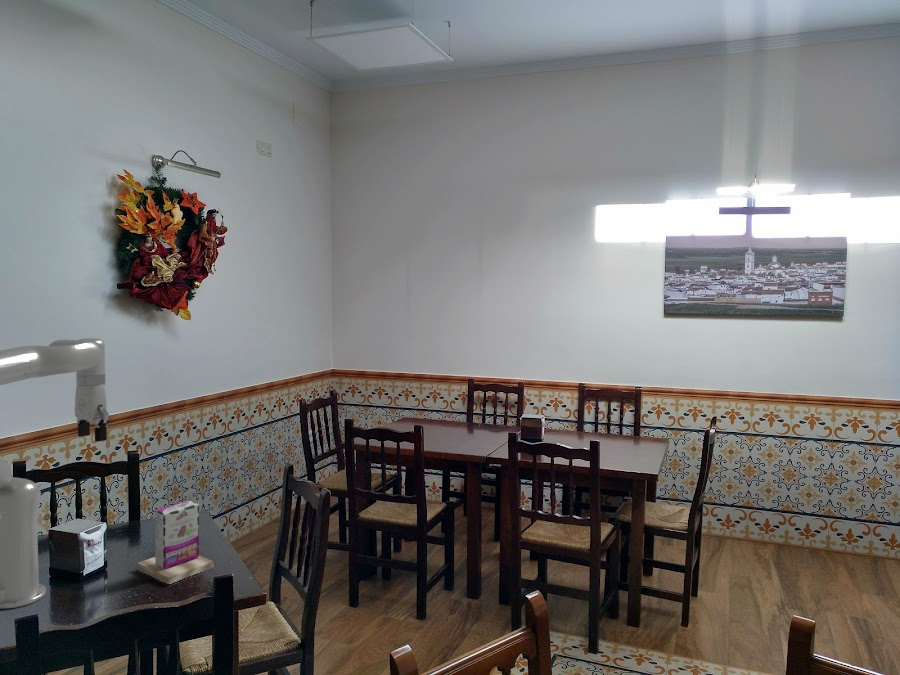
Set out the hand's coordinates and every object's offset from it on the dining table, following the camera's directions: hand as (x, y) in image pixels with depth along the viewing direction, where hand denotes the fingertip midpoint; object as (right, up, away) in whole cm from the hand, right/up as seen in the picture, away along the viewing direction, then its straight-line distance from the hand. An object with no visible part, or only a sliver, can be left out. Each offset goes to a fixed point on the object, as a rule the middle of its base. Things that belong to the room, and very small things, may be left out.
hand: (92, 438), depth 200 cm
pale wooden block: (+26, -38, -4) cm, 46 cm away
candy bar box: (+27, -35, -4) cm, 44 cm away
